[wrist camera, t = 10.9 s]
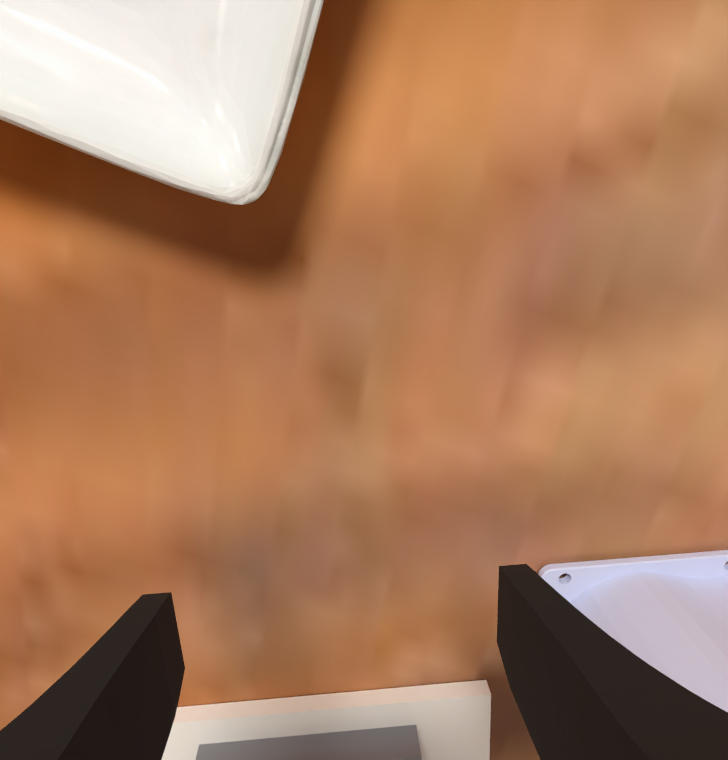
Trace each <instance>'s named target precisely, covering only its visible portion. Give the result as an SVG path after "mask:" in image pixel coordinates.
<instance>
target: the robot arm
mask: <svg viewBox="0 0 728 760" xmlns="http://www.w3.org/2000/svg"><path fill="white" fill-rule="evenodd" d="M726 562H728V550H722V551H709V552H697V553H684V554H672V555H660V556H647V557H635V558H622V559H610V560H597V561H585V562H572V563H560V564H549V565H546V566H544V567H542V568H541V570H540V571H539V573H538V574H537V573H536V572H535V571H534V570H533V569H531V568H530V567H529V566H528V565H527V564H520V565H508V566H499V589H498V624H497V643H498V647H499V650H500V654H501V657H502V661H503V664H504V668H505V671H506V674H507V678H508V681H509V684H510V688H511V690H512V692H513V695H514V697H515V700H516V702H517V705H518V707H519V709H520V712H521V714H522V717H523V719H524V721H525V724H526V726H527V729H528V731H529V733H530V736H531V738H532V740H533V743H534V745H535V747H536V750H537V752H538V754H539V757H540V759H541V760H728V563H727V564H725V563H726ZM565 573H566V574H567V575H566V576H565V577H563V578H559V577H560V576H561V575H562V574H565ZM184 670H185V666H184V661H183V655H182V650H181V644H180V639H179V633H178V628H177V622H176V617H175V611H174V606H173V600H172V595H171V593H158V594H146V595H142V596H141V597H140V598H139V599H138V600H137V601H136V602H135V603H134V604H133V605H132V606H131V607H130V608H129V609H128V610H127V611H126V612H125V613H124V614H123V615H122V616H121V617H120V619H119V620H118V621H117V622H116V623H115V624H114V625H113V626H112V627H111V628H110V629H109V630H108V631H107V632H106V633H105V634H104V635H103V636H102V637H101V638H100V639H99V640H98V641H97V642H96V643H95V644H94V645H93V646H92V647H91V648H90V649H89V650H88V651H87V652H86V653H85V654H84V655H83V656H82V657H81V658H80V659H79V660H78V661H77V662H76V663H75V664H74V665H73V666H72V667H71V668H70V669H69V670H68V671H67V672H66V673H65V674H64V675H63V676H62V677H61V678H60V679H58V680H57V681H56V682H55V683H54V684H53V685H52V686H51V687H50V688H49V689H48V690H47V691H46V692H44V693H43V694H42V695H41V696H40V697H39V698H38V699H37V700H36V701H35V702H34V703H33V704H32V705H30V706H29V707H28V708H27V709H26V710H25V711H23V712H22V713H21V714H20V715H19V716H18V717H16V718H15V719H14V720H13V721H12V722H11V723H9V724H8V725H7V726H6V727H4V728H3V729H2V730H1V731H0V760H161V759H162V756H163V753H164V750H165V747H166V744H167V741H168V738H169V735H170V732H171V728H172V725H173V722H174V719H175V715H176V710H177V705H178V701H179V696H180V691H181V686H182V680H183V675H184Z"/></svg>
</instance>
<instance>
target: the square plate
mask: <svg viewBox="0 0 728 760" xmlns="http://www.w3.org/2000/svg"><path fill="white" fill-rule="evenodd" d="M323 3H324V0H0V120H3V121H5V122H8V123H10V124H13V125H15V126H18V127H20V128H23V129H25V130H28V131H30V132H33V133H35V134H38V135H40V136H43V137H46V138H48V139H51V140H53V141H56V142H58V143H61V144H63V145H66V146H68V147H71V148H73V149H76V150H78V151H81V152H83V153H86V154H88V155H91V156H93V157H96V158H99V159H101V160H104V161H106V162H109V163H111V164H114V165H116V166H119V167H121V168H124V169H127V170H129V171H132V172H135V173H137V174H140V175H142V176H145V177H148V178H150V179H153V180H156V181H158V182H161V183H163V184H166V185H169V186H171V187H174V188H177V189H180V190H183V191H186V192H189V193H193V194H196V195H199V196H202V197H206V198H209V199H212V200H216V201H220V202H225V203H229V204H238V205H245V204H249V203H252V202H254V201H256V200H257V199H258V198H260V197H261V195H262V194H263V193H264V191H265V190H266V189H267V187H268V185H269V183H270V181H271V178H272V176H273V173H274V171H275V168H276V166H277V163H278V161H279V159H280V156H281V153H282V150H283V147H284V143H285V140H286V137H287V133H288V130H289V126H290V123H291V120H292V116H293V113H294V110H295V106H296V103H297V100H298V96H299V93H300V89H301V86H302V83H303V79H304V76H305V72H306V69H307V65H308V61H309V57H310V53H311V49H312V45H313V42H314V38H315V34H316V30H317V26H318V22H319V18H320V15H321V11H322V7H323Z"/></svg>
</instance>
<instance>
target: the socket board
mask: <svg viewBox="0 0 728 760" xmlns="http://www.w3.org/2000/svg"><path fill="white" fill-rule="evenodd" d="M490 719H491V693H490V690H489V687H488V684H487V681H486V680H478V681H467V682H455V683H444V684H433V685H422V686H411V687H399V688H388V689H377V690H366V691H354V692H343V693H332V694H321V695H309V696H298V697H287V698H276V699H265V700H253V701H242V702H231V703H220V704H208V705H197V706H186V707H177V710H176V715H175V719H174V722H173V725H172V728H171V732H170V735H169V738H168V741H167V744H166V747H165V750H164V753H163V756H162V759H161V760H489V757H490Z"/></svg>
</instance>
